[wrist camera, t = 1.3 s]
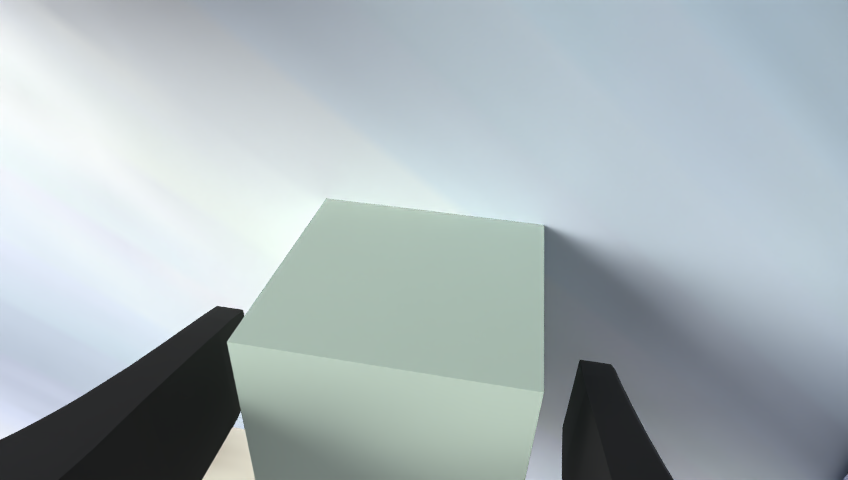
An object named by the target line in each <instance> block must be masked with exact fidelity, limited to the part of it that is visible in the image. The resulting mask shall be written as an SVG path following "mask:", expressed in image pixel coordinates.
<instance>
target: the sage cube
mask: <svg viewBox="0 0 848 480" xmlns="http://www.w3.org/2000/svg"><path fill="white" fill-rule="evenodd" d="M227 345H228V350H229V355H230V360H231V365H232V369H233V374H234V379H235V384H236V389H237V394H238V399H239V404H240V408H241V413H242V418H243V423H244V428H245V433H246V438H247V442H248V447H249V452H250V457H251V462H252V467H253V472H254V477H255V480H525V477H526V473H527V468H528V464H529V459H530V454H531V450H532V445H533V441H534V436H535V431H536V427H537V422H538V418H539V413H540V409H541V404H542V399H543V395H544V225H539V224H531V223H523V222H515V221H507V220H498V219H490V218H482V217H474V216H466V215H457V214H449V213H441V212H433V211H425V210H416V209H408V208H400V207H392V206H384V205H375V204H367V203H359V202H351V201H343V200H334V199H326V200H325V201H324V203H323V204H322V206H321V207H320V208H319V210H318V211H317V213H316V214H315V216H314V217H313V218H312V220H311V221H310V223H309V224H308V226H307V227H306V229H305V230H304V231H303V233H302V234H301V236H300V237H299V239H298V240H297V241H296V243H295V244H294V246H293V247H292V249H291V250H290V252H289V253H288V254H287V256H286V257H285V259H284V260H283V262H282V263H281V265H280V266H279V267H278V269H277V270H276V272H275V273H274V275H273V276H272V277H271V279H270V280H269V282H268V283H267V285H266V286H265V288H264V289H263V290H262V292H261V293H260V295H259V296H258V298H257V299H256V300H255V302H254V303H253V305H252V306H251V308H250V309H249V311H248V312H247V313H246V315H245V316H244V318H243V319H242V321H241V322H240V324H239V325H238V326H237V328H236V329H235V331H234V332H233V334H232V335H231V336H230V338H229V339H228V341H227Z"/></svg>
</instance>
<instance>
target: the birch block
mask: <svg viewBox="0 0 848 480" xmlns="http://www.w3.org/2000/svg"><path fill="white" fill-rule="evenodd" d="M202 480H255V477H254V472H253V467H252V462H251V457H250V452H249V447H248V442H247V438H246V433H245V429H240V428H235V427H232V429H231V431H230V433H229V434H228V436H227V438H226V440H225V441H224V443H223V445H222V447H221V448H220V450H219V452H218V453H217V455H216V457H215V459H214V460H213V462H212V464H211V465H210V467H209V469H208V471H207V472H206V474H205V476H204V477H203V479H202Z"/></svg>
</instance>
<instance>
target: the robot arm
mask: <svg viewBox="0 0 848 480" xmlns="http://www.w3.org/2000/svg"><path fill="white" fill-rule="evenodd" d="M243 318H244V313H243V310H240V309H233V308H227V307H220V306H216V307H215V308H213V309H212V310H210V311H209V312H207V313H206V314H204V315H203V316H201V317H200V318H198V319H197V320H196V321H194V322H193V323H191V324H190V325H188V326H187V327H186V328H184V329H183V330H181V331H180V332H178V333H177V334H176V335H174V336H173V337H171V338H170V339H168V340H167V341H166V342H164V343H163V344H161V345H160V346H158V347H157V348H155V349H154V350H152V351H151V352H150V353H148V354H147V355H145V356H144V357H142V358H141V359H139V360H138V361H136V362H135V363H133V364H132V365H130V366H129V367H127V368H126V369H124V370H123V371H121V372H119V373H118V374H116V375H115V376H113V377H112V378H110V379H108V380H107V381H105V382H104V383H102V384H100V385H99V386H97V387H96V388H94V389H92V390H91V391H89V392H88V393H86V394H84V395H83V396H81V397H80V398H78V399H76V400H74V401H73V402H71V403H69V404H68V405H66V406H64V407H62V408H60V409H59V410H57V411H55V412H53V413H52V414H50V415H48V416H46V417H44V418H42V419H40V420H38V421H37V422H35V423H33V424H31V425H29V426H27V427H25V428H23V429H21V430H19V431H18V432H16V433H14V434H11V435H9V436H7V437H5V438H3V439H1V440H0V480H202V479H203V477H204V476H205V474H206V472H207V471H208V469H209V467H210V465H211V464H212V462H213V460H214V459H215V457H216V455H217V453H218V452H219V450H220V448H221V447H222V445H223V443H224V441H225V440H226V438H227V436H228V434H229V433H230V431H231V429H232V427H233V426H234V424H235V422H236V420H237V418H238V416H239V414H240V411H241V408H240V404H239V399H238V394H237V389H236V384H235V379H234V374H233V369H232V365H231V360H230V355H229V350H228V345H227V341H228V339H229V338H230V336H231V335H232V334H233V332H234V331H235V329H236V328H237V326H238V325H239V324H240V322H241V321H242V319H243ZM562 480H674V479H673V478H672V476H671V475H670V473H669V471H668V470H667V468H666V466H665V465H664V463H663V461H662V459H661V458H660V456H659V454H658V452H657V451H656V449H655V447H654V445H653V444H652V442H651V440H650V439H649V437H648V435H647V433H646V431H645V429H644V428H643V426H642V424H641V422H640V420H639V418H638V416H637V414H636V412H635V410H634V408H633V406H632V404H631V402H630V400H629V398H628V396H627V394H626V392H625V390H624V388H623V386H622V384H621V381H620V379H619V377H618V375H617V373H616V370H615V369H614V368H613V366H612V365H611V364H605V363H598V362H591V361H584V360H580V361H579V365H578V369H577V373H576V377H575V381H574V385H573V389H572V392H571V396H570V400H569V404H568V408H567V412H566V416H565V420H564V424H563V432H562ZM843 480H848V474H847V475H846V476H845V478H844V479H843Z"/></svg>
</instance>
